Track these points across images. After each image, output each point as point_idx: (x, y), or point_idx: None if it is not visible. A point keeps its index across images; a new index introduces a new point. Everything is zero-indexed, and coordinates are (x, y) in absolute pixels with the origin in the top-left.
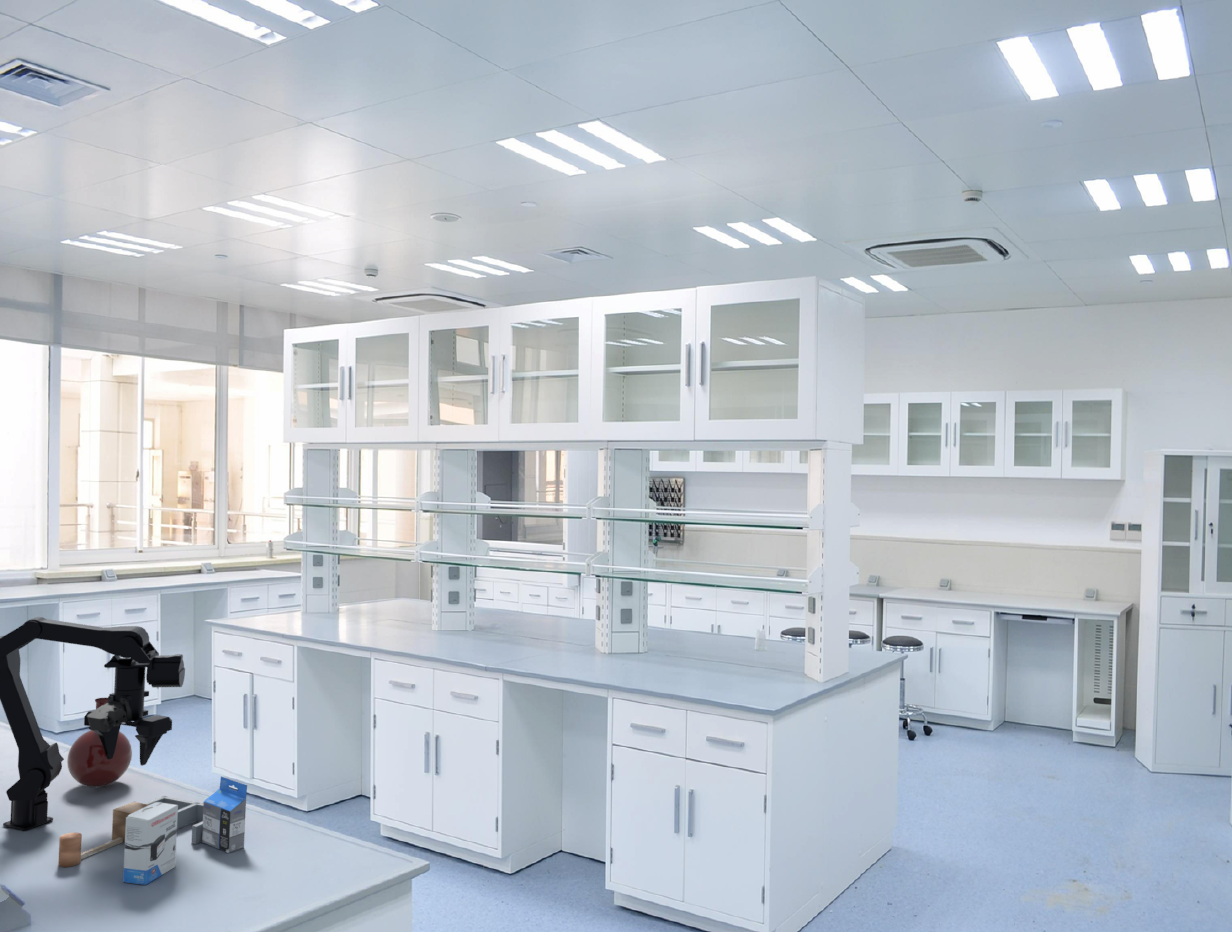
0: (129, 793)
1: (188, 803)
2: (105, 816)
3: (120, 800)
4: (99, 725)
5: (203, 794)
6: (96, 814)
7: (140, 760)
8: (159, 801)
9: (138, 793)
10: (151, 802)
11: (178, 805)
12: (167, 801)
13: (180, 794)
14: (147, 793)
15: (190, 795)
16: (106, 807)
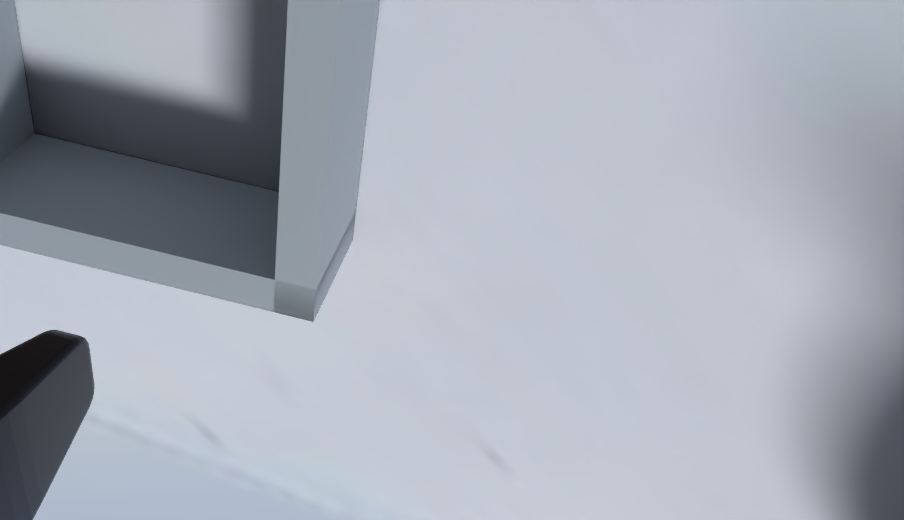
0: (834, 504)
1: (8, 210)
2: (763, 77)
3: (830, 395)
4: None
5: (340, 513)
6: (879, 106)
7: (6, 380)
8: (280, 228)
9: (766, 507)
10: (289, 167)
11: (131, 217)
12: (242, 254)
13: (474, 507)
14: (701, 510)
15: (402, 498)
16: (870, 262)
